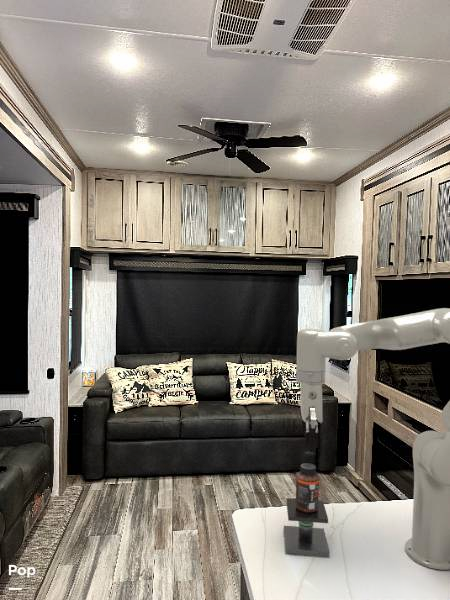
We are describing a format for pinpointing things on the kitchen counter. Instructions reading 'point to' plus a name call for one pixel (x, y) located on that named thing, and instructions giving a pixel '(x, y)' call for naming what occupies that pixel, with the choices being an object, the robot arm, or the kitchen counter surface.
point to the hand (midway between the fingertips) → (309, 440)
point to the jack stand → (306, 532)
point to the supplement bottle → (307, 488)
